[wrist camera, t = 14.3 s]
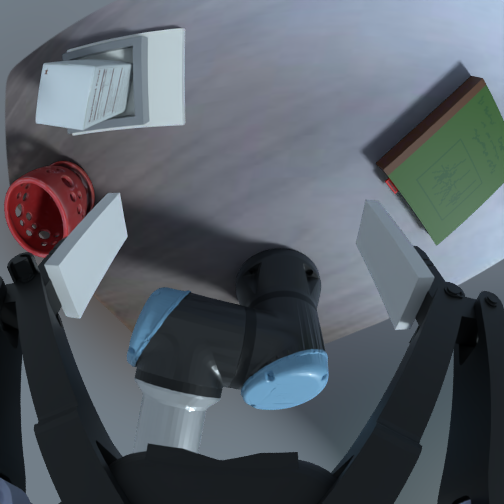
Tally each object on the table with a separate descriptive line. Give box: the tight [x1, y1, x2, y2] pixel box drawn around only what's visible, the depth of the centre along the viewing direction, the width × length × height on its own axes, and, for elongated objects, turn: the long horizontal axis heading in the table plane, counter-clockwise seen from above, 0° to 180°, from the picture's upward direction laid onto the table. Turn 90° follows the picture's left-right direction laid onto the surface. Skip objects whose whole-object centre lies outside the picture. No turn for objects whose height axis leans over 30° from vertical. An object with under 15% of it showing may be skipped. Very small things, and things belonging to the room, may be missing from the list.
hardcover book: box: [376, 76, 504, 246], centre depth 40 cm, size 25×19×4 cm
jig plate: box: [63, 28, 185, 135], centre depth 34 cm, size 14×18×4 cm
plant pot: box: [4, 161, 95, 258], centre depth 39 cm, size 13×13×12 cm
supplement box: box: [36, 59, 133, 130], centre depth 29 cm, size 7×7×13 cm
